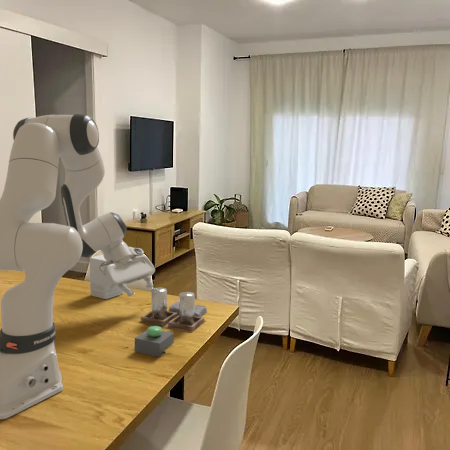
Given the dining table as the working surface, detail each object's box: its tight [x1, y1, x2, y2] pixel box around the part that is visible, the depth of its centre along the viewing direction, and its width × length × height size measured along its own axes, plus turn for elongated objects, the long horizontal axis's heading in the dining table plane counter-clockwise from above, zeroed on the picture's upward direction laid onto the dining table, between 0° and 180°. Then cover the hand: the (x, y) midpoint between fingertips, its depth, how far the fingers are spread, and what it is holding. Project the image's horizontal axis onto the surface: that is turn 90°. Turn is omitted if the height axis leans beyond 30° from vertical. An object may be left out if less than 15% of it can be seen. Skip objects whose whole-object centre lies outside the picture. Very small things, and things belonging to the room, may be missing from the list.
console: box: [134, 329, 175, 358], centre depth 129 cm, size 8×8×4 cm
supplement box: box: [88, 254, 124, 300], centre depth 173 cm, size 9×9×15 cm
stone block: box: [168, 301, 208, 317], centre depth 156 cm, size 12×5×10 cm
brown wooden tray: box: [137, 310, 207, 334], centre depth 147 cm, size 11×19×2 cm, turn 68°
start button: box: [146, 325, 163, 338], centre depth 128 cm, size 4×4×5 cm
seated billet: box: [178, 291, 196, 326], centre depth 144 cm, size 5×5×10 cm
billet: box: [150, 287, 168, 320], centre depth 148 cm, size 5×5×10 cm
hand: (141, 291), depth 152 cm, fingers open, 8 cm apart
